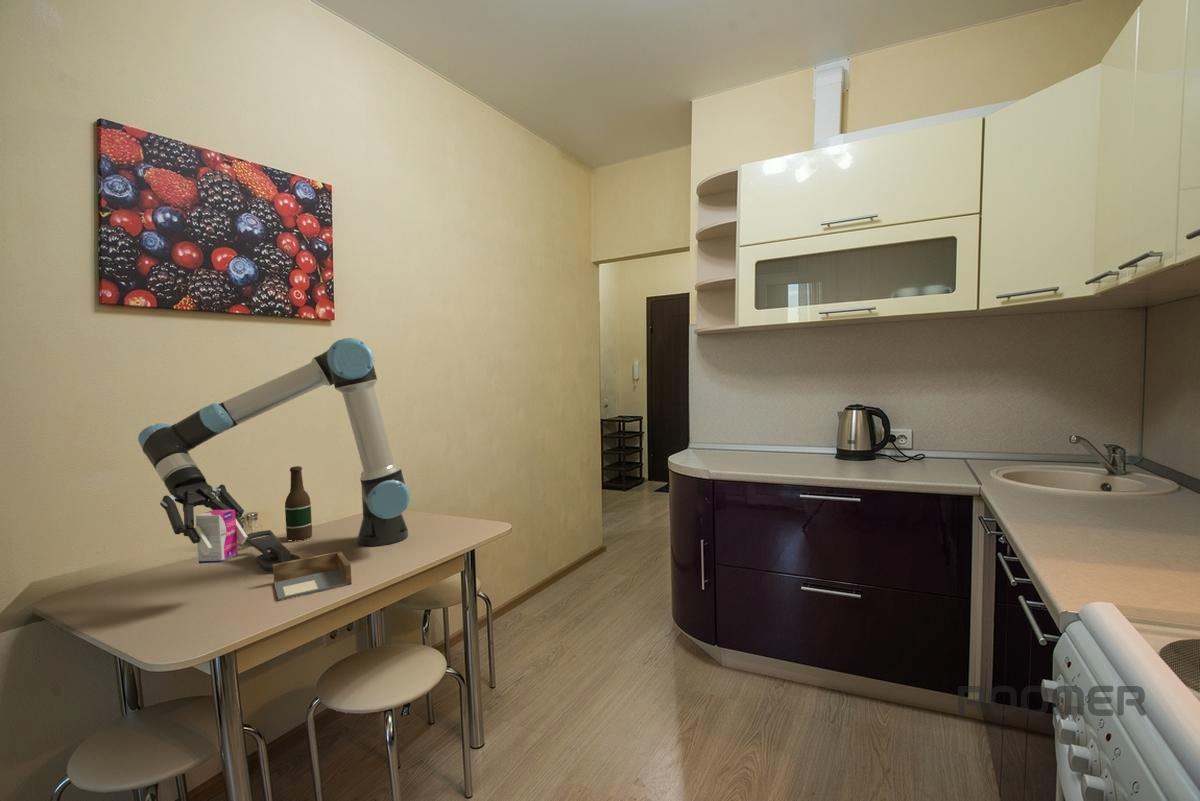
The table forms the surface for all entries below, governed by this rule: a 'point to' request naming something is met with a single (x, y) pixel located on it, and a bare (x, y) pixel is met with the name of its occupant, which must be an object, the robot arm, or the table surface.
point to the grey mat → (309, 584)
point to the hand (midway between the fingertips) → (226, 545)
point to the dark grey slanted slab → (276, 550)
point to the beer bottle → (298, 508)
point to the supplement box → (218, 535)
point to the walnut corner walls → (313, 567)
